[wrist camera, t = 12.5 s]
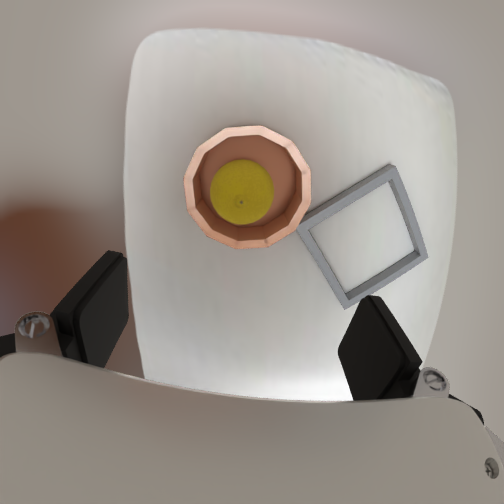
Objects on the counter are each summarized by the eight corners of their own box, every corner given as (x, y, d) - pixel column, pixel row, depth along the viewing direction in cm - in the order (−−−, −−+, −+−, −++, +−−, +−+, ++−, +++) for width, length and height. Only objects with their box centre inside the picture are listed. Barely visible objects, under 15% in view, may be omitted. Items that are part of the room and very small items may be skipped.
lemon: (270, 209, 29) (277, 237, 22) (216, 209, 29) (205, 237, 22) (271, 155, 27) (280, 165, 20) (214, 155, 27) (202, 166, 19)
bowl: (320, 196, 29) (332, 207, 25) (233, 249, 32) (231, 268, 28) (263, 106, 25) (266, 102, 21) (173, 168, 28) (160, 175, 24)
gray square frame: (422, 252, 32) (428, 257, 31) (341, 303, 35) (344, 310, 34) (389, 164, 28) (395, 166, 26) (292, 222, 31) (294, 227, 29)
